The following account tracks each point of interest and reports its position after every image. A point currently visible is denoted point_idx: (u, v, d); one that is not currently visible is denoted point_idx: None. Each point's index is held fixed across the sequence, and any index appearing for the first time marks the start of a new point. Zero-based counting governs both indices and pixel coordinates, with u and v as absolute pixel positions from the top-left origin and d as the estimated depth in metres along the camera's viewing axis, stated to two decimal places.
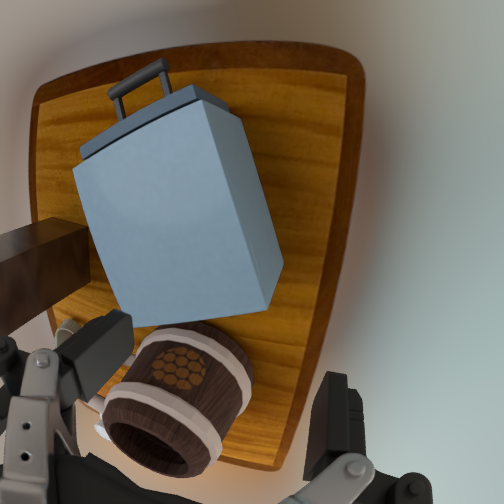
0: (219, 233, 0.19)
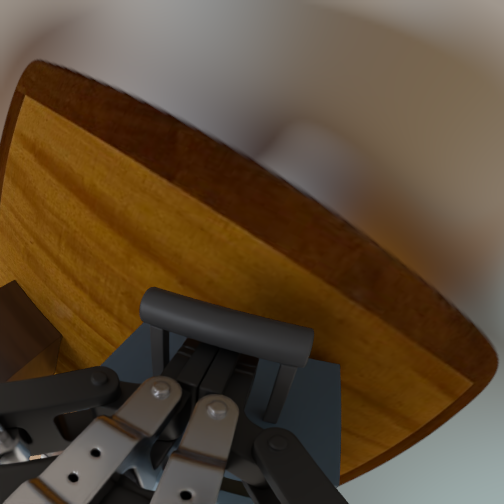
0: None
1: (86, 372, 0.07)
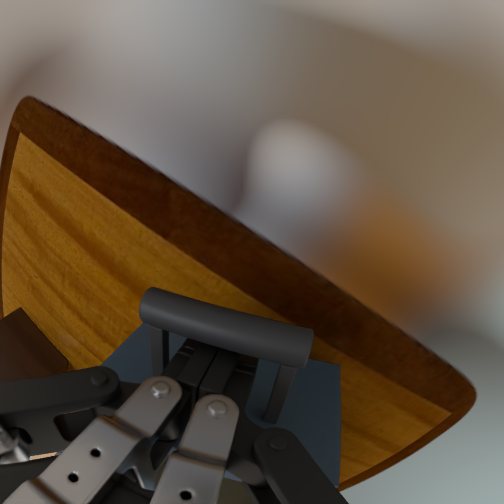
0: None
1: (86, 372, 0.07)
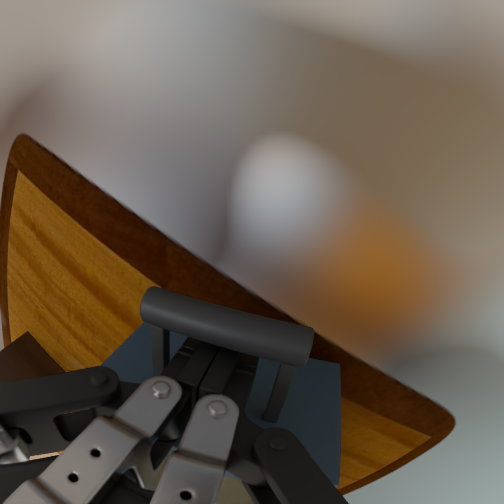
0: None
1: (86, 372, 0.07)
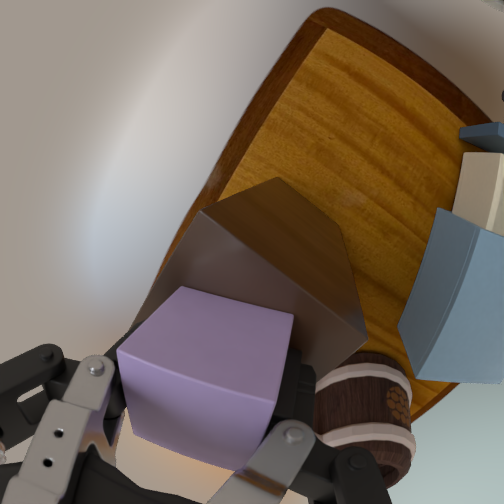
0: None
1: (34, 351, 0.07)
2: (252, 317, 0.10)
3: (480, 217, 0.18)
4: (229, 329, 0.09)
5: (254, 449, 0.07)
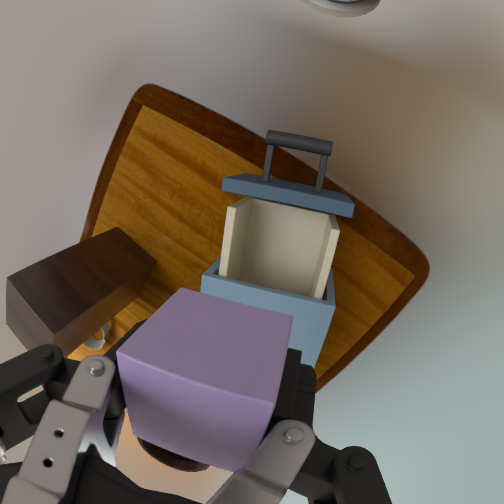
0: None
1: (34, 351, 0.07)
2: (251, 319, 0.10)
3: None
4: (228, 331, 0.09)
5: (253, 450, 0.07)
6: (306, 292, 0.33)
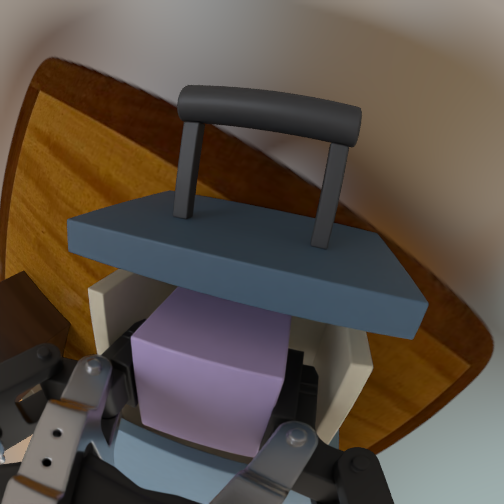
0: None
1: (31, 351, 0.07)
2: None
3: None
4: (234, 316, 0.10)
5: (262, 429, 0.08)
6: None
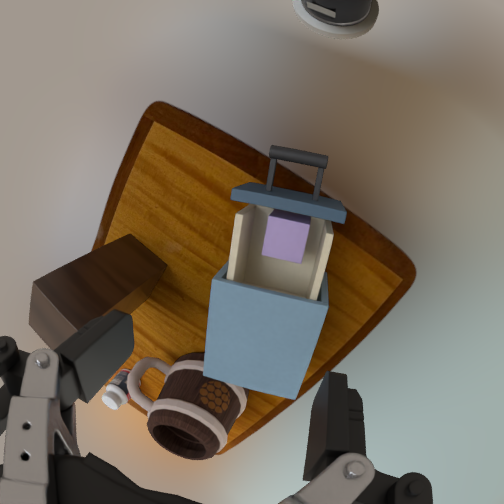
0: (294, 365, 0.32)
1: None
2: (299, 215, 0.33)
3: None
4: (294, 216, 0.32)
5: (304, 246, 0.31)
6: (305, 289, 0.37)
